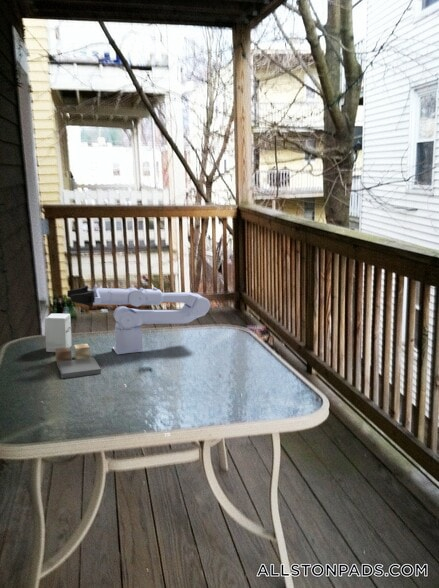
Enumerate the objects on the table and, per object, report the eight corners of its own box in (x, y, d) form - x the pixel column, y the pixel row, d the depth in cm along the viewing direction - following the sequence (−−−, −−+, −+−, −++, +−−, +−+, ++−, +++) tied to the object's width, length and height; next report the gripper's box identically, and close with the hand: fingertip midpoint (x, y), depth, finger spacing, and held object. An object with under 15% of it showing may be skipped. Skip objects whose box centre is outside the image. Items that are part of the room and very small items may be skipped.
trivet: (93, 361, 180) (93, 357, 180) (100, 373, 170) (100, 368, 169) (57, 365, 175) (57, 361, 175) (62, 378, 165) (62, 373, 164)
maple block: (87, 355, 186) (87, 343, 185) (90, 359, 182) (89, 347, 181) (74, 357, 185) (74, 344, 184) (76, 361, 181) (76, 348, 180)
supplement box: (66, 352, 189) (64, 318, 186) (45, 352, 189) (43, 318, 186) (72, 346, 196) (70, 313, 194) (52, 345, 196) (50, 312, 194)
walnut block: (69, 359, 182) (69, 347, 181) (71, 363, 178) (71, 351, 177) (56, 361, 180) (55, 348, 179) (57, 365, 176) (57, 352, 175)
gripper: (105, 281, 192) (66, 280, 186) (114, 289, 179) (73, 288, 173) (104, 300, 193) (65, 300, 187) (113, 309, 180) (72, 309, 174)
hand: (69, 295), depth 180 cm, fingers open, 7 cm apart
